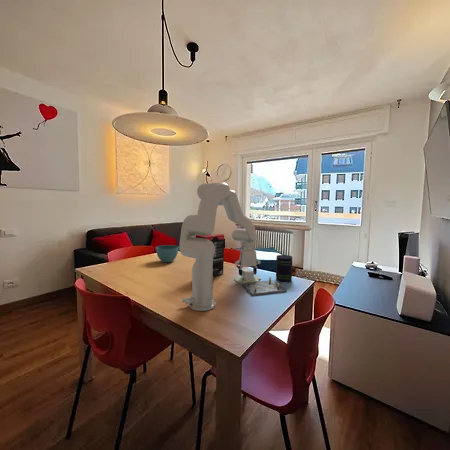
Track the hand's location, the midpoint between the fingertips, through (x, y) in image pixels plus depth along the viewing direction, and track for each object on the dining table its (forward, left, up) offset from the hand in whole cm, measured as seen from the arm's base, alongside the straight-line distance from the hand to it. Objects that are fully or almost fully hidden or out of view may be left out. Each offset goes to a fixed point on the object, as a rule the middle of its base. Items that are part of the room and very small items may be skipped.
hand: (247, 274), depth 143 cm
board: (0, 0, -4) cm, 4 cm away
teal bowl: (-47, +59, -3) cm, 76 cm away
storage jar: (+22, -6, -3) cm, 23 cm away
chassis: (+3, -16, -3) cm, 17 cm away
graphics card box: (-20, +14, -4) cm, 25 cm away
